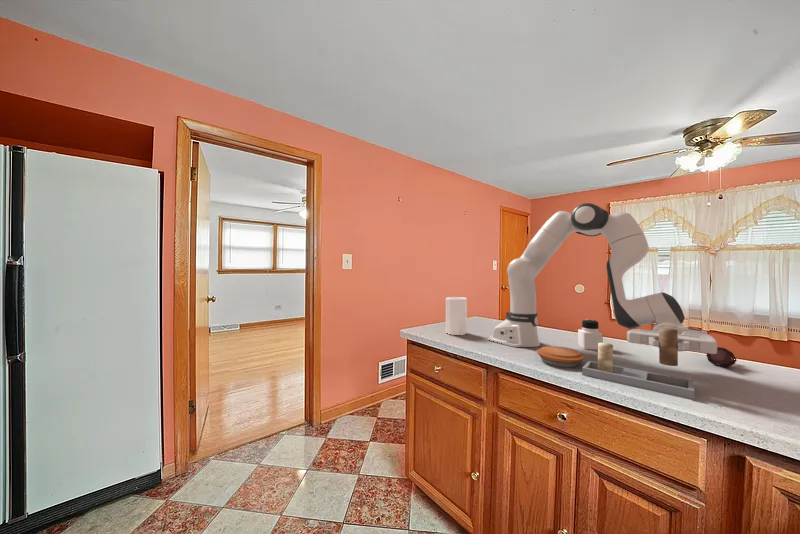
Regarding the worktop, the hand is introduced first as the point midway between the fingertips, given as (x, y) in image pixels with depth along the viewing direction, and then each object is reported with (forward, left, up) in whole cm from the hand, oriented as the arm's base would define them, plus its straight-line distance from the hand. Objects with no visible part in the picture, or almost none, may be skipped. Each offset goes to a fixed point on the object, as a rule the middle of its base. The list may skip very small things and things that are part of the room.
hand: (668, 345), depth 86 cm
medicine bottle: (-26, +36, -13) cm, 46 cm away
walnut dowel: (0, +1, -5) cm, 6 cm away
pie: (-30, +5, -13) cm, 33 cm away
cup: (-83, +19, -13) cm, 86 cm away
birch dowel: (-15, +1, -13) cm, 20 cm away
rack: (-8, +1, -13) cm, 15 cm away
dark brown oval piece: (+13, +40, -13) cm, 45 cm away
